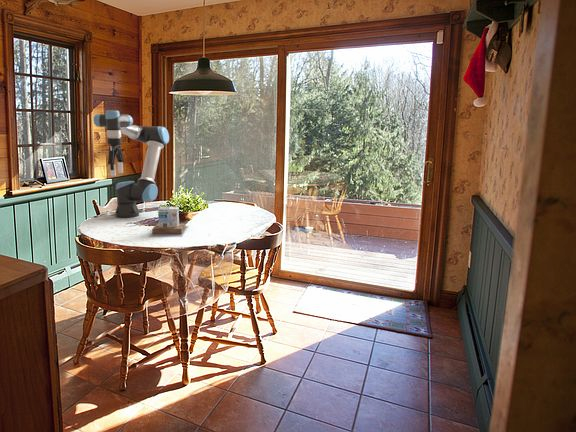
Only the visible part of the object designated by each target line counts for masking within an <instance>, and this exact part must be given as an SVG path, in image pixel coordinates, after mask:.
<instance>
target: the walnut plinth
mask: <svg viewBox="0 0 576 432" xmlns="http://www.w3.org/2000/svg"><path fill="white" fill-rule="evenodd" d="M186 226H187V225H186V223H185V222H181V223H180V222H179V225H178V227H159V222H158V223H156V224H155V225H154V226H153V227H152V229H151V233H152V234H182V233H183V231H184V230H185V228H186Z"/></svg>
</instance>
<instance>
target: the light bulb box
mask: <svg viewBox="0 0 576 432" xmlns="http://www.w3.org/2000/svg"><path fill="white" fill-rule="evenodd" d="M179 210H180V209H179V206H160V207H158V209H157V212H158V213H157V218H158V223H159V227H178V225H179V223H180V217H179V216H180V215H179V212H180V211H179Z"/></svg>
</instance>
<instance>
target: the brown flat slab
mask: <svg viewBox="0 0 576 432" xmlns="http://www.w3.org/2000/svg"><path fill="white" fill-rule="evenodd" d="M185 226H186V228H185V230H184V231H183V233H182V234H152V232H151V233H150V234H149V236H148V238H161V237H162V238H166V237H167V238H169V237H170V238H174V237H175V238H176V237H178V238H179V237H182V238H183V235H184V234H185V232H186V231H187V229H188V228H189V225H185Z"/></svg>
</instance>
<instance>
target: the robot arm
mask: <svg viewBox="0 0 576 432" xmlns="http://www.w3.org/2000/svg"><path fill="white" fill-rule="evenodd" d="M93 124H94V126H95V127H99V128H105V129H106V132H105V133H106V137H107V145H110V146H109V147H108V159H107V160H108V161H107V165H109V171H110V176H112V177H116V176H117V174H116V173H118V174H124V165H123V163H124V162H125V160H124V155H123V151H122V146H121V145H122V143H123V141H122V135H124V136H127V137H128V138H129V139H131V140H133V141H137V142H140V143H142V144H146V145H147V148H146V154H145V158H144V162H143V167H142V171H141V176H140V177H139V178H138V179H137V182H136V183H135V181H134V180H126V181H120V182H117V183H116V184H115V192H116V193H115V194H116V202H117V206H116V209H115V211H114V212H115V213H114V215H115V217H116V218H120V219H121V218H122V219H123V218H125V219H126V218H135V217H139V216H140V211H139V208H138V206H137V202H145V203H148V202H149V203H151V202H153V201H155V199H156V198H157V196H158V193H159V188H158V186H157V184H156V182H155V178H156V173H157V169H158V165H159V161H160V155H161V151H162V150H163V149H164V148H165V145H166V144H169V141H170V133H169V131H168V129H167V128H166V127H165V126H152V125H150V126H149V125H146V126H145V125H136V124H134V119H133V117H132V116H131V115H129V114H124V113H122V114H120V111H119V110H111V109H110V110H109V109H108V110H105V113H98V114H94V116H93ZM116 159H117V171H116V163H115V162H116Z"/></svg>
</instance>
